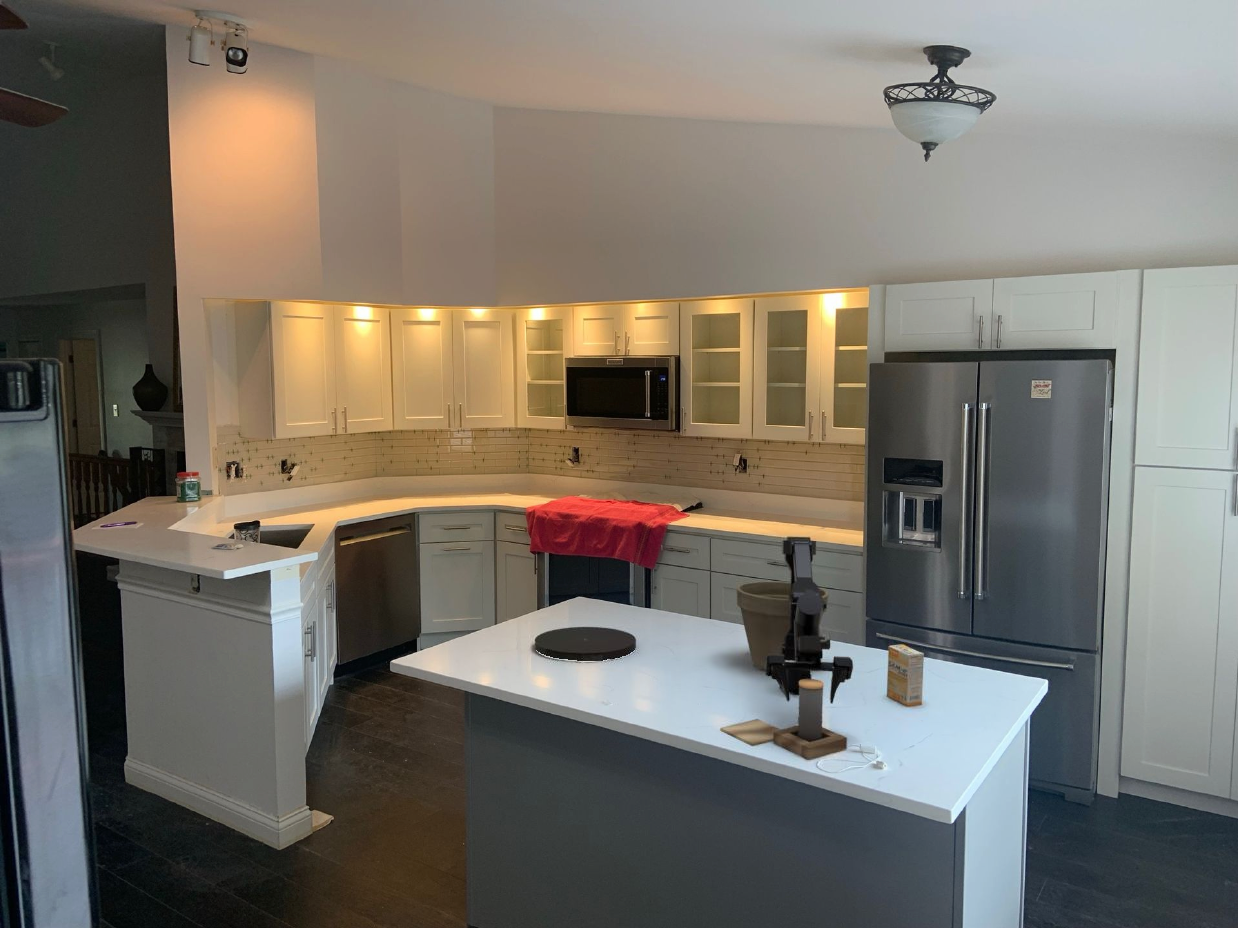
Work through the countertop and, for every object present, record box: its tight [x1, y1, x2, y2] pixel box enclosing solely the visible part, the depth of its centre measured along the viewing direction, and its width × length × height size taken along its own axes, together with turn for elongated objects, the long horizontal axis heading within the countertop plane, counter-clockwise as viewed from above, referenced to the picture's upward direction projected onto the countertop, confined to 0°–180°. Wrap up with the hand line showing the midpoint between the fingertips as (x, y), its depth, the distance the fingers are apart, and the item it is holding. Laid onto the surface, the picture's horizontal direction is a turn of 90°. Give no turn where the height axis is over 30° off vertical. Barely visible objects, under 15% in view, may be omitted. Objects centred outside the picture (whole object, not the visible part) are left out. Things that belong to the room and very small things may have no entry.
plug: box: [797, 678, 825, 742], centre depth 201 cm, size 5×5×14 cm
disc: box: [534, 626, 637, 661], centre depth 276 cm, size 30×30×3 cm
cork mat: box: [719, 718, 781, 747], centre depth 208 cm, size 11×11×1 cm
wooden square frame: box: [772, 724, 848, 761], centre depth 201 cm, size 11×11×2 cm
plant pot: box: [736, 580, 829, 671], centre depth 259 cm, size 25×25×22 cm
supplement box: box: [886, 644, 925, 707], centre depth 230 cm, size 8×5×13 cm, turn 21°
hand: (810, 701), depth 202 cm, fingers open, 9 cm apart
